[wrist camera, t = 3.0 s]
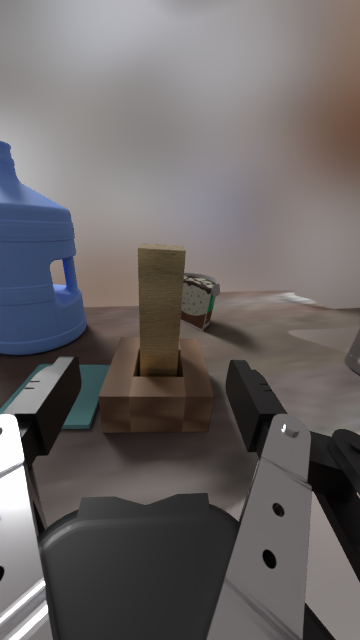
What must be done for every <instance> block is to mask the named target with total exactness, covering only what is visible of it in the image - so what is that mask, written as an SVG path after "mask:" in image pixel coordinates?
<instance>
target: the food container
mask: <svg viewBox="0 0 360 640" xmlns="http://www.w3.org/2000/svg"><path fill="white" fill-rule="evenodd" d="M219 287H220V286H219V282H218V280H217V279H215V278H213V277H210V276H206V275H201V274H194V273H184V280H183V294H182V308H181V321H183V322H185V323H187V324H189V325H191V326H193V327H195V328H197V329H199V330H201V331H205V330H206V329H207V328H208V326H209V322H210V318H211V314H212V309H213V305H214V301H215V297H216V296H217V295H219V294H220V288H219Z"/></svg>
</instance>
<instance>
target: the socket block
mask: <svg viewBox="0 0 360 640" xmlns="http://www.w3.org/2000/svg"><path fill="white" fill-rule="evenodd" d="M98 398H99V406H100V413H101V421H102V428H103V433H133V432H208V430H209V424H210V418H211V413H212V407H213V401H214V393H213V390H212V386H211V383H210V379H209V376H208V372H207V368H206V365H205V361H204V358H203V354H202V351H201V347H200V343H199V340H198V339H179V349H178V363H177V377H140V338H124V337H121V339H120V341H119V344H118V347H117V349H116V352H115V354H114V357H113V360H112V362H111V365H110V367H109V370H108V373H107V375H106V378H105V380H104V383H103V386H102V388H101V391H100V393H99V396H98Z"/></svg>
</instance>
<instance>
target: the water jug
mask: <svg viewBox="0 0 360 640" xmlns="http://www.w3.org/2000/svg"><path fill="white" fill-rule="evenodd" d="M10 149H11V147H10V145H9V144H7V143H5V142H2V141H0V353H1V354H7V355H29V354H36V353H42V352H46V351H50V350H53V349H56V348H59V347H62V346H64V345H66V344H69V343H70V342H72V341H74V340H75V339H77V338H78V337H79V336H80V335H81V334H82V333H83V332H84V331H85V329H86V325H87V322H86V316H85V313H84V307H83V300H82V293H81V291H80V290H79V289H78V287H77V281H76V274H75V267H74V260H73V256H74V255H75V254H76V250H75V243H74V238H75V237H74V228H73V223H72V221H71V214H70V212H69V210H68V209H66V208H64V207H63V206H61V205H59V204H57V203H55V202H54V201H52V200H50V199H48V198H46V197H45V196H43V195H41V194H39V193H37V192H36V191H34V190H32V189H30V188H29V187H26V186H25V185H23V184H22V183H21V182H20V181H19V180H18V178H17V176H16V173H15V168H14V161H13V159H12V158H11V153H10ZM59 259H62V260H63V267H64V273H65V279H66V285H56V284H53V282H52V278H51V272H50V264H51V262H53V261H54V260H59Z"/></svg>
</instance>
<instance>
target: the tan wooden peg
mask: <svg viewBox="0 0 360 640" xmlns="http://www.w3.org/2000/svg"><path fill="white" fill-rule="evenodd" d="M184 266H185V249H184V248H183V246H174V245H158V244H142V245H141V246H140V247H139V248H138V275H139V326H140V377H177V363H178V349H179V335H180V321H181V308H182V294H183V280H184Z"/></svg>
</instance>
